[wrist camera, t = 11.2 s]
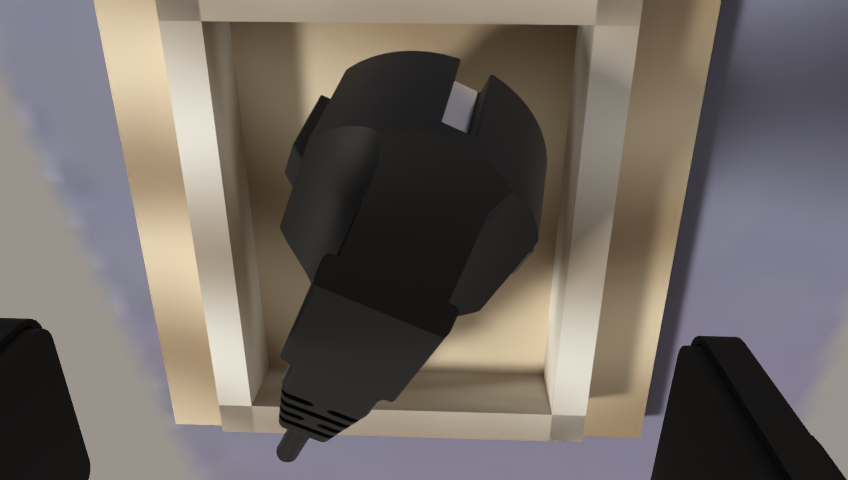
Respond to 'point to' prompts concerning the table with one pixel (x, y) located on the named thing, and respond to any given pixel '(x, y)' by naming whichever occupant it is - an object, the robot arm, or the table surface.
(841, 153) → the table surface
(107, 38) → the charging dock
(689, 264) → the table surface
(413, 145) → the power plug
